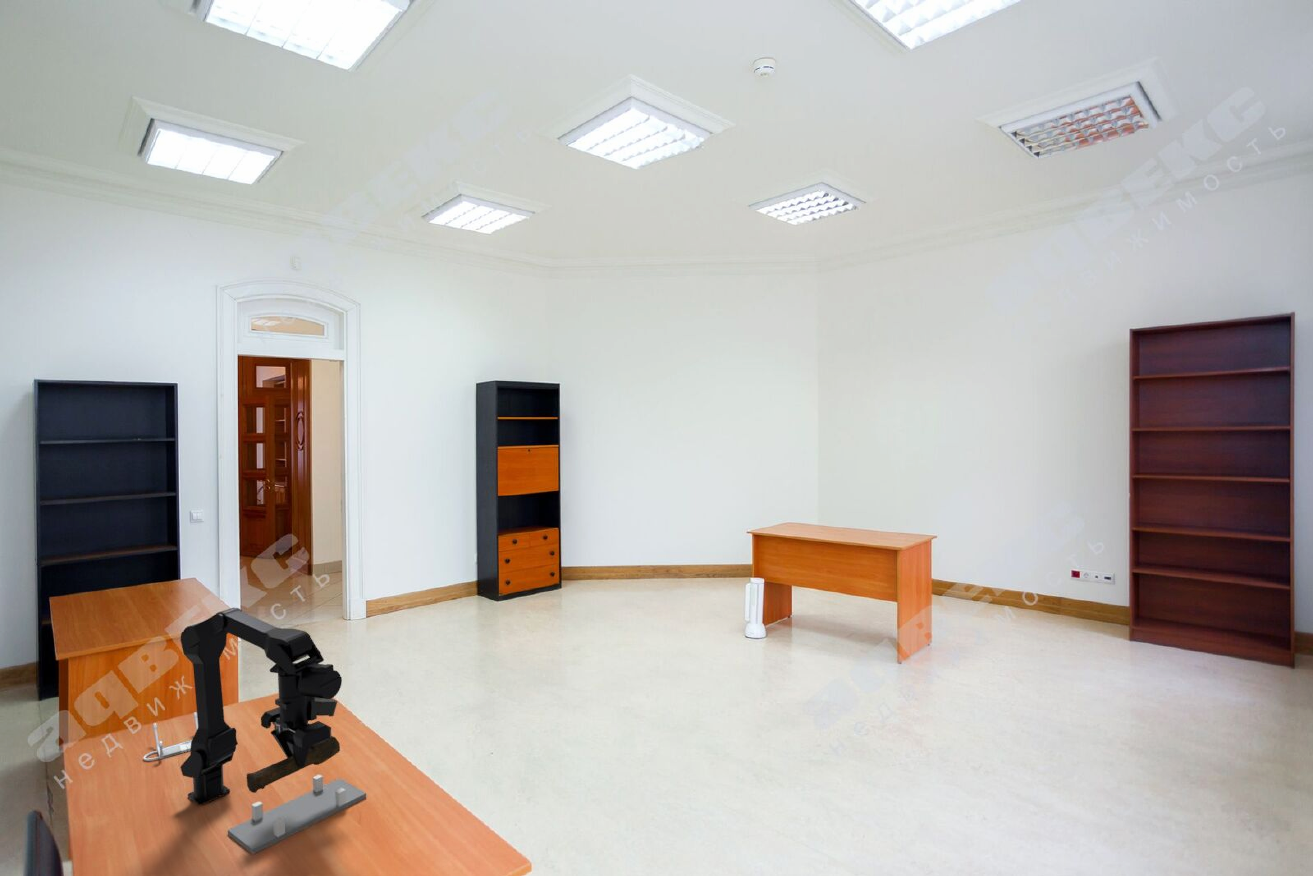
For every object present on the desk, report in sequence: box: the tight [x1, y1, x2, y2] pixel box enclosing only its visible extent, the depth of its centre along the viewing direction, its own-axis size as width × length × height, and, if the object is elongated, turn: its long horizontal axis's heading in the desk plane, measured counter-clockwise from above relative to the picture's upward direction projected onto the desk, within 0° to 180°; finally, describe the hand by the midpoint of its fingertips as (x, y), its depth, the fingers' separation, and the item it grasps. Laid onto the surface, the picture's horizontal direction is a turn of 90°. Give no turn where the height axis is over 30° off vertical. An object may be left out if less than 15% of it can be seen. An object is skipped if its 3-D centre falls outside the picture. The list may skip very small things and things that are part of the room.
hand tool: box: [246, 735, 341, 794], centre depth 148 cm, size 19×4×5 cm, turn 141°
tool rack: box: [227, 774, 367, 855], centre depth 149 cm, size 11×24×4 cm, turn 144°
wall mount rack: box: [142, 711, 198, 762], centre depth 180 cm, size 16×14×6 cm
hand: (297, 764), depth 148 cm, fingers closed on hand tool, 3 cm apart
